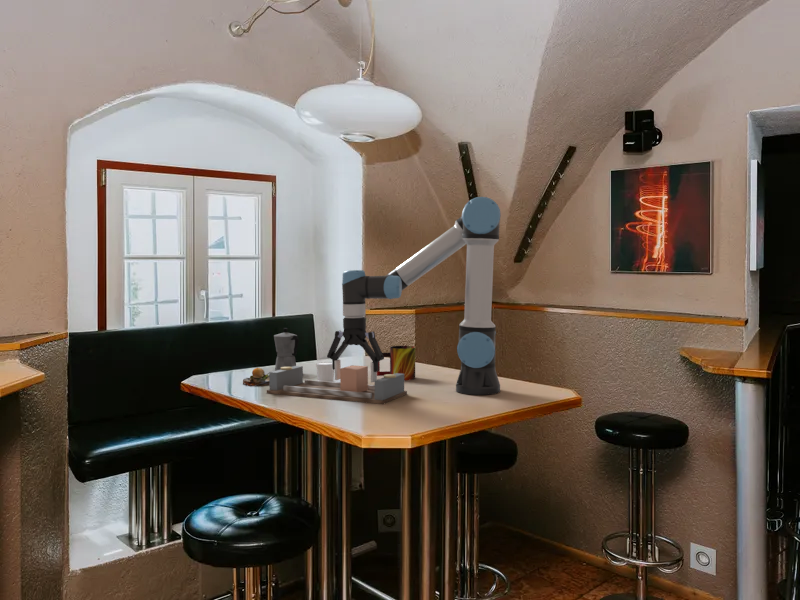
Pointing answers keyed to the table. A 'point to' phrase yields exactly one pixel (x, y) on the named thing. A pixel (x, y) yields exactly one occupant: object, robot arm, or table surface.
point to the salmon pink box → (354, 378)
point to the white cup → (325, 371)
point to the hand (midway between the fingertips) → (355, 380)
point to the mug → (401, 361)
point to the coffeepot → (285, 349)
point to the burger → (257, 378)
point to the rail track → (332, 392)
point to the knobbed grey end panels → (294, 376)
